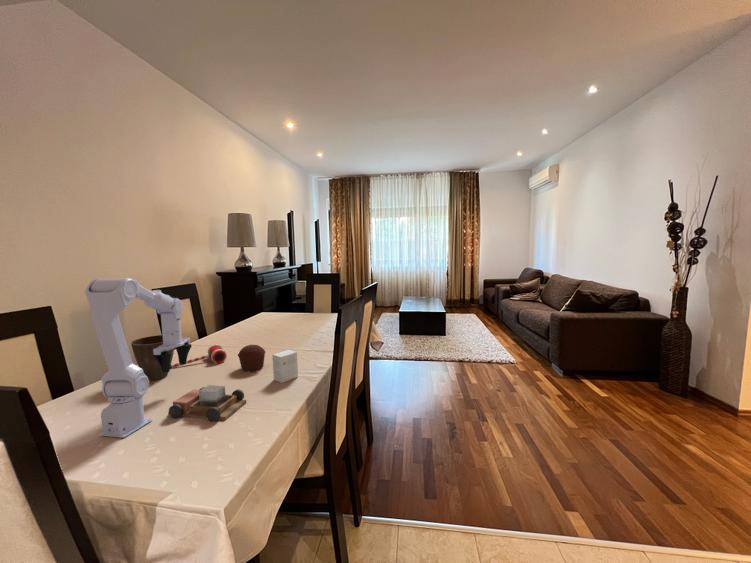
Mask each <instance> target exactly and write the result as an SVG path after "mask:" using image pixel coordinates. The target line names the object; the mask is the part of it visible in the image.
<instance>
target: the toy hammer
mask: <svg viewBox="0 0 751 563" xmlns="http://www.w3.org/2000/svg"><path fill="white" fill-rule="evenodd" d="M227 355H228V354H227V352H226V350H224V349H223V347H222V346H221V345H220V344H212V345H210V346H209V347H208V349H207V354H206V355H202V356H199V357H196V358H192V359H189V360H187V361H186V364H185V365H187V364H192V363H194V362H198V361H201V360H205V359H209V358H210V360H211V361H212V363H214V364H219V363H220V362H221V363H224V362H225V361H226V360H227V357H228V356H227ZM180 366H182V365H181V364H180V363H179V362H178V363H175V364H171V366H170V370H172V369H174V368H177V367H180ZM171 368H172V369H171Z"/></svg>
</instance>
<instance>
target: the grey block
mask: <svg viewBox="0 0 751 563" xmlns="http://www.w3.org/2000/svg"><path fill="white" fill-rule="evenodd" d="M204 387H205V388H203V387H202V388H203V389H201V388H200V389H201V390H200V391H199V400H200V406H211V407H219V406H221V405H222V404H223V403H225V402H226V396H225V394H226V386H225V385H215V384H214V385H211V384H208V385H207V386H204Z"/></svg>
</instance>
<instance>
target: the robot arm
mask: <svg viewBox="0 0 751 563" xmlns="http://www.w3.org/2000/svg"><path fill="white" fill-rule="evenodd" d="M84 293H85V296H86V299H87V302H88V305H89V310H90V312H89V313H90V317H91V318H90V319H91V321H92V324H93V326H94V330H95V333H96V335H97V336H96V337H97V339H98V342H99V344H100V349H101V352H102V355H103V357H104V360H105V363H106V365H107V371H106V372H105V373H104V374H103V375H102V376H101V378H100V379H101V384H102V387H101V393H102V395H103V396H104V397H105V398H107V399H108V402H110V403H108V405H107V406H106V407H105V408H103V409H102V411H101V413H100V419H101V430H102V432H100V437H111V438H120V439H123V438H124V439H125V438H127V437H128V436H130V435H131V434H133V433H134V432H136V431H137V430H139V429H141V428H142V427H145V426H146V425H148V424H149V423H151V422H152V421H153V418H147V417H146V416H145V405H144V395H145V394H146V393H147V391H148V389H149V386H150V381H149V380H148V377H147V376H146V375H145V374H144V372H143V369H142V368H140V367H139V366H138V365H137V364H135V363H133V360H132V356H131V353H130V350H129V346H128V343H127V340H126V336H125V333H124V330H123V326H122V323H121V320H120V317H119V315H120V312H123V311H124V310H126V309H127V307H129V305H130V304H131V303H132V301H133V300H134V299H137V300H141V301H143V303H144V305H145V306H146V307H148V308H151V309H152V310H155V311H156V313H157V314H158V315H160V322H161V335H163V344H162V345H161V346H159V347H157V348H155V349H153V352H154V354H153V356H154V357H155V358H156V360H157V361H158V362H159V364H160V366H161V368H162V371H163V372H168V373H170V372H171V371H170V370H171V369H170V358H171V355H172V354H171V353H167V352H166V351H168V350H171V349H174V350H176V352H177V357H178V363H180V364H181V366H184V365H187V364H186V361H188V360H187V359H188V355H189V352H190V351H191V348H192V344H191V337H183V336H182V324H181V323H182V322H181V318H182V315H183V313H182V312H183V309H184V304H183V301H182V300H181V299H179V298H178V297H172V296H171V295H169V294H165V293H163V292H162V290H161V289H154V290H150V289H147V288H146V287H144V286H143V285H141V284H140V283H139V280H135V279H133V278H131V277H124V278H94V279H92V280H91V281H90V282H89V284H88V285H87V287H86V288H85V290H84Z"/></svg>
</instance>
